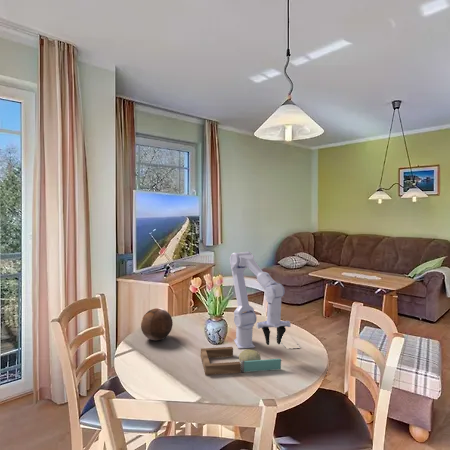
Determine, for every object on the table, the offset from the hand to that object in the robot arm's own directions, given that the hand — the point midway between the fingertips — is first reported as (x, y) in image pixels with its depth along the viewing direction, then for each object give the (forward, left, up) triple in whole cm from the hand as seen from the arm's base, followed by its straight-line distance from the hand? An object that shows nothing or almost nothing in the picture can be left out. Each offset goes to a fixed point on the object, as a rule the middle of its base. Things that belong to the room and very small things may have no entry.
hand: (272, 343), depth 141 cm
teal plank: (+8, -8, -7) cm, 13 cm away
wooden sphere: (-29, -49, -8) cm, 57 cm away
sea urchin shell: (0, -10, -8) cm, 13 cm away
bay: (0, -22, -7) cm, 23 cm away
